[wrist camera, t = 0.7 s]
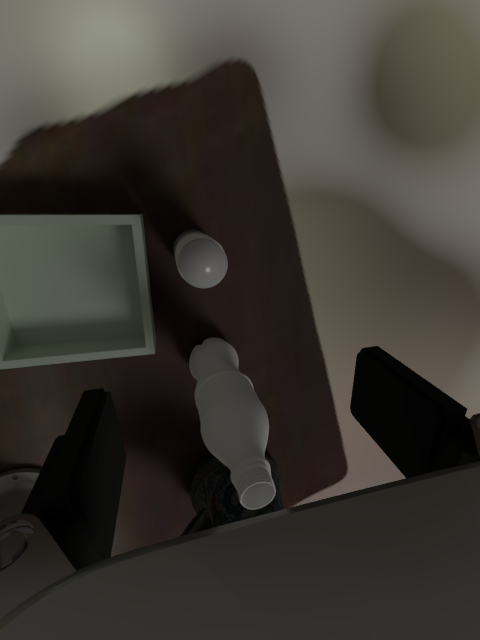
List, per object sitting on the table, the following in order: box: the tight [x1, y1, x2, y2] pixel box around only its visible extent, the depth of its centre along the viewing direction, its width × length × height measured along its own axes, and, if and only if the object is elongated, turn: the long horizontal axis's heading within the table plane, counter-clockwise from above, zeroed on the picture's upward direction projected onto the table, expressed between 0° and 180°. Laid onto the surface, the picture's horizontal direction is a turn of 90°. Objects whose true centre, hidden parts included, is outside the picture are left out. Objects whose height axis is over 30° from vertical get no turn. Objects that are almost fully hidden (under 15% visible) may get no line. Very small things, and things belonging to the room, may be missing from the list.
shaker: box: [173, 229, 228, 288], centre depth 35 cm, size 5×5×12 cm
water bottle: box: [189, 338, 276, 510], centre depth 35 cm, size 7×7×25 cm
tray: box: [0, 214, 156, 369], centre depth 36 cm, size 17×18×5 cm
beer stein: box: [181, 450, 283, 536], centre depth 45 cm, size 16×19×25 cm
